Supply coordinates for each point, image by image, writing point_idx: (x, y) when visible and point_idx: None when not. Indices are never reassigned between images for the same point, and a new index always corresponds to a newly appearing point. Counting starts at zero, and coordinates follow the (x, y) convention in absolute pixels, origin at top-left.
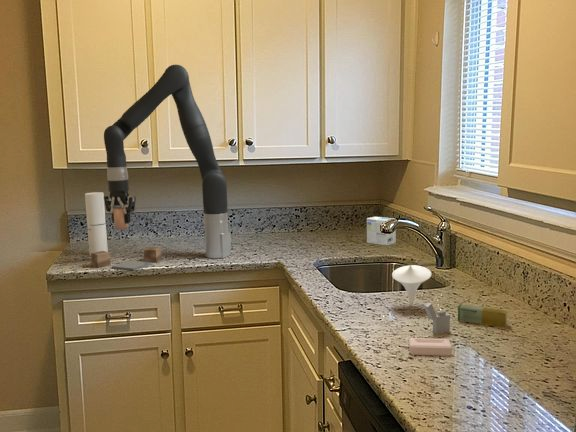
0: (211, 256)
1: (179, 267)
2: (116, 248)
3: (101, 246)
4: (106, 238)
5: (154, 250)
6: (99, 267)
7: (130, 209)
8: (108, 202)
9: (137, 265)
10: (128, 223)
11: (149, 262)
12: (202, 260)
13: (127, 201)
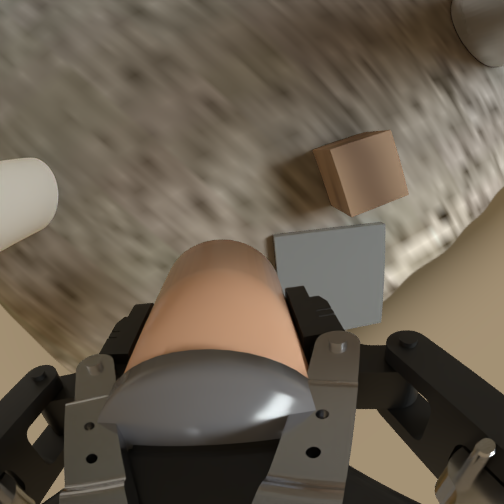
0: (493, 66)
1: (479, 211)
2: (13, 84)
3: (36, 212)
4: (9, 177)
5: (401, 196)
6: None
7: (424, 410)
8: (32, 482)
9: (367, 286)
10: (271, 273)
11: (380, 227)
12: (485, 98)
13: (347, 459)
